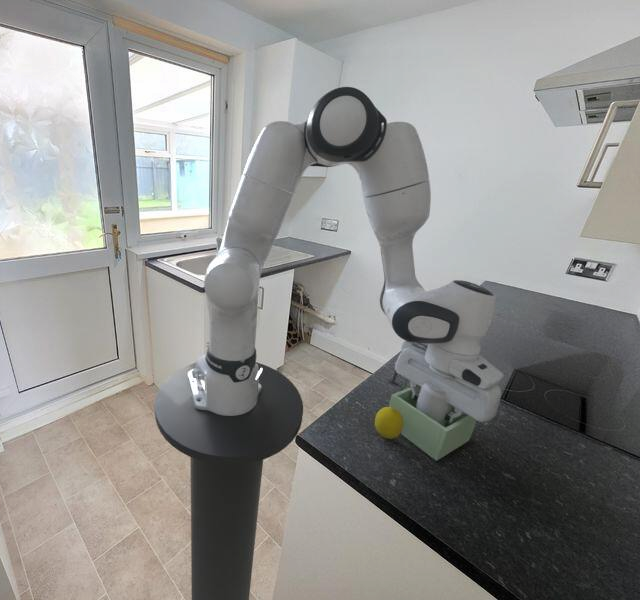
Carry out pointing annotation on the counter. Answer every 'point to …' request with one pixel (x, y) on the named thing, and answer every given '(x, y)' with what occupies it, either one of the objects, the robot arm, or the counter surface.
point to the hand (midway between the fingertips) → (432, 410)
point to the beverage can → (433, 403)
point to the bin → (431, 427)
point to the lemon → (388, 422)
